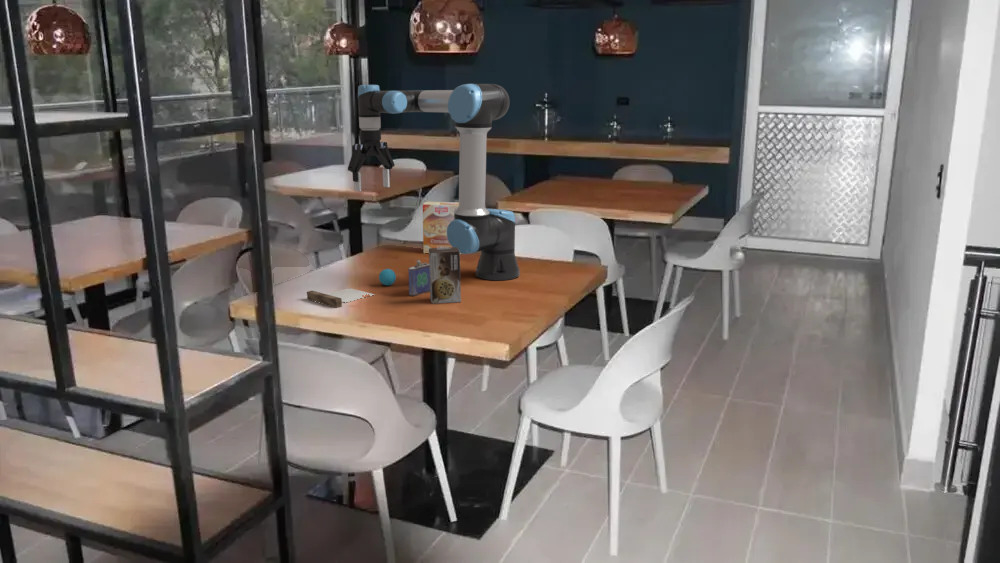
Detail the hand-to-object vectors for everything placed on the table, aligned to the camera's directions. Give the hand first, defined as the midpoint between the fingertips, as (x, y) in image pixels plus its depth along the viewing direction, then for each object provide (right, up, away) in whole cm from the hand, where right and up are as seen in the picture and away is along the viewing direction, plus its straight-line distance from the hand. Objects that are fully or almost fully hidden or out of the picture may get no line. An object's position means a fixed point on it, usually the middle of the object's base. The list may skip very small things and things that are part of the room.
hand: (372, 188), depth 294 cm
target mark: (-2, -38, -39) cm, 54 cm away
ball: (+9, -32, -27) cm, 43 cm away
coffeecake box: (+24, -22, +24) cm, 41 cm away
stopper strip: (-7, -40, -47) cm, 62 cm away
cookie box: (+29, -40, -43) cm, 66 cm away
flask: (+21, -38, -35) cm, 55 cm away
